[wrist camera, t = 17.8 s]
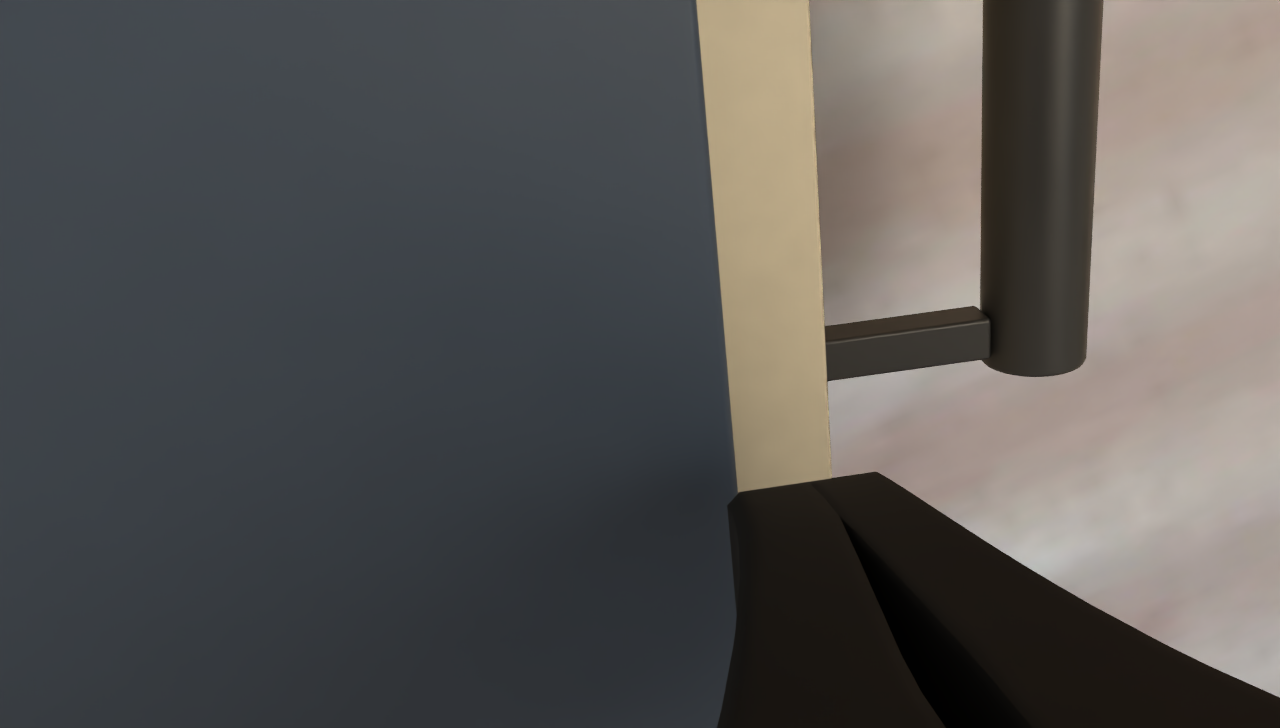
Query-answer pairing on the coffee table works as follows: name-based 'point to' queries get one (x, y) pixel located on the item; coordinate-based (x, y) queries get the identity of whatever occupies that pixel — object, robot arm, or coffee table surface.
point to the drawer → (790, 227)
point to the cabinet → (360, 366)
